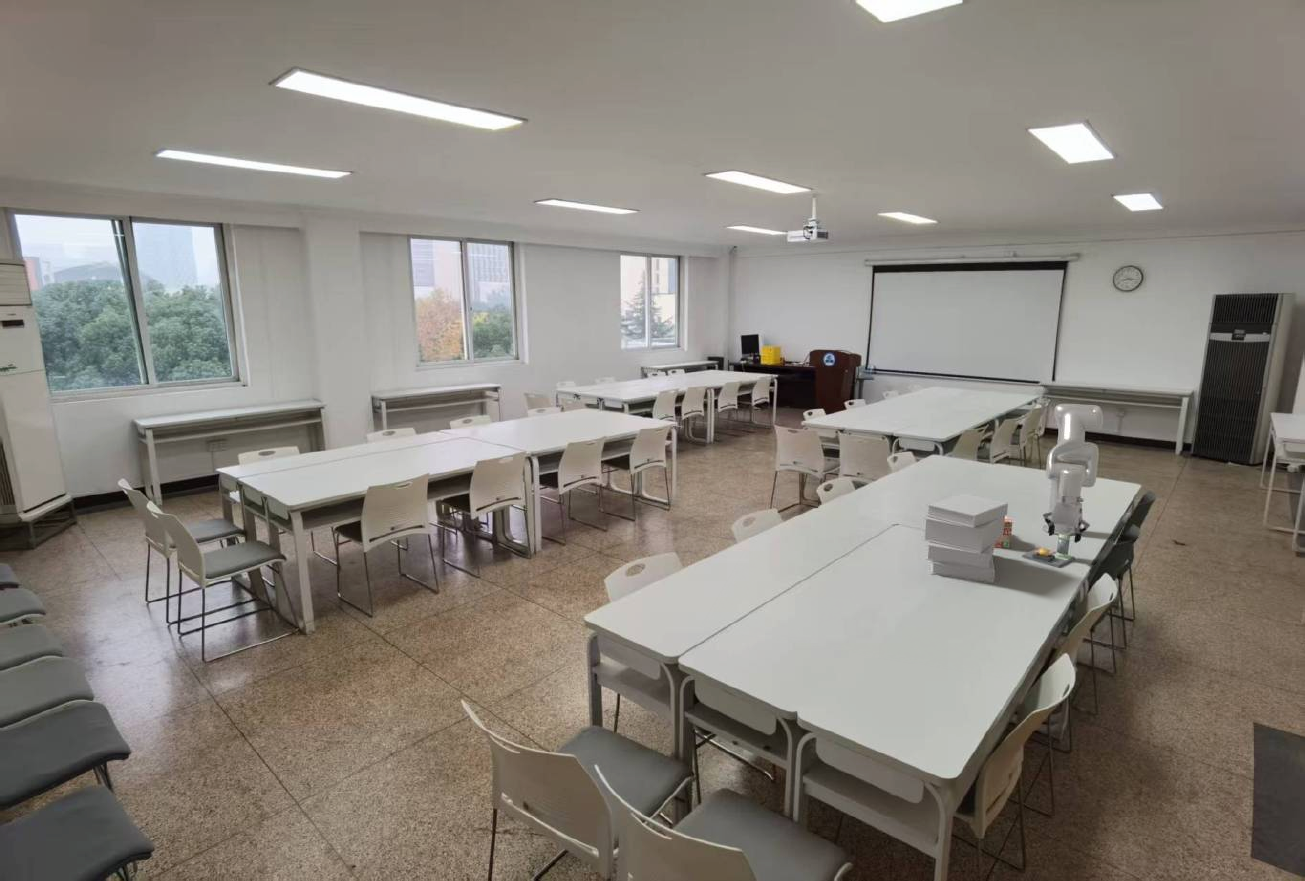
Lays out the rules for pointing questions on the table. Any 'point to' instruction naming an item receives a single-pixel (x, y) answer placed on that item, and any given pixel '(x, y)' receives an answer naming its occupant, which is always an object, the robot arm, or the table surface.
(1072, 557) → the board
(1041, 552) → the button
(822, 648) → the table surface
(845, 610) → the table surface
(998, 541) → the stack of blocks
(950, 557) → the book stack
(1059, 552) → the green grey cylinder
